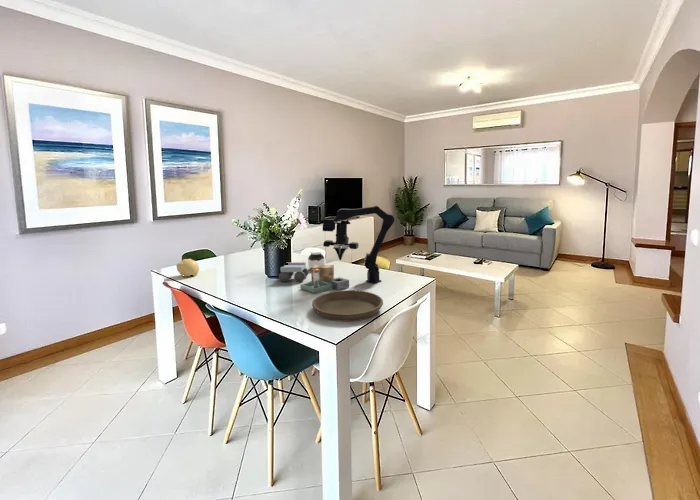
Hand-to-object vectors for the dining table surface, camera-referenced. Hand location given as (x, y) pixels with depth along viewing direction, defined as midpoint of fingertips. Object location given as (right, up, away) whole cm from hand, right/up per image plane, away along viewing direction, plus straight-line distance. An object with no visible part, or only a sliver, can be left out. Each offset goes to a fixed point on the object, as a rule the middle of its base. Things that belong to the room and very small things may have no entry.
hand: (340, 259), depth 204 cm
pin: (-12, -14, -9) cm, 21 cm away
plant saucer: (+4, -21, -42) cm, 47 cm away
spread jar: (-16, -7, +33) cm, 37 cm away
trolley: (-27, -12, +11) cm, 31 cm away
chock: (-10, -13, +5) cm, 17 cm away
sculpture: (-95, -11, +25) cm, 99 cm away
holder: (-1, -14, -7) cm, 16 cm away
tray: (-12, -15, -9) cm, 22 cm away
